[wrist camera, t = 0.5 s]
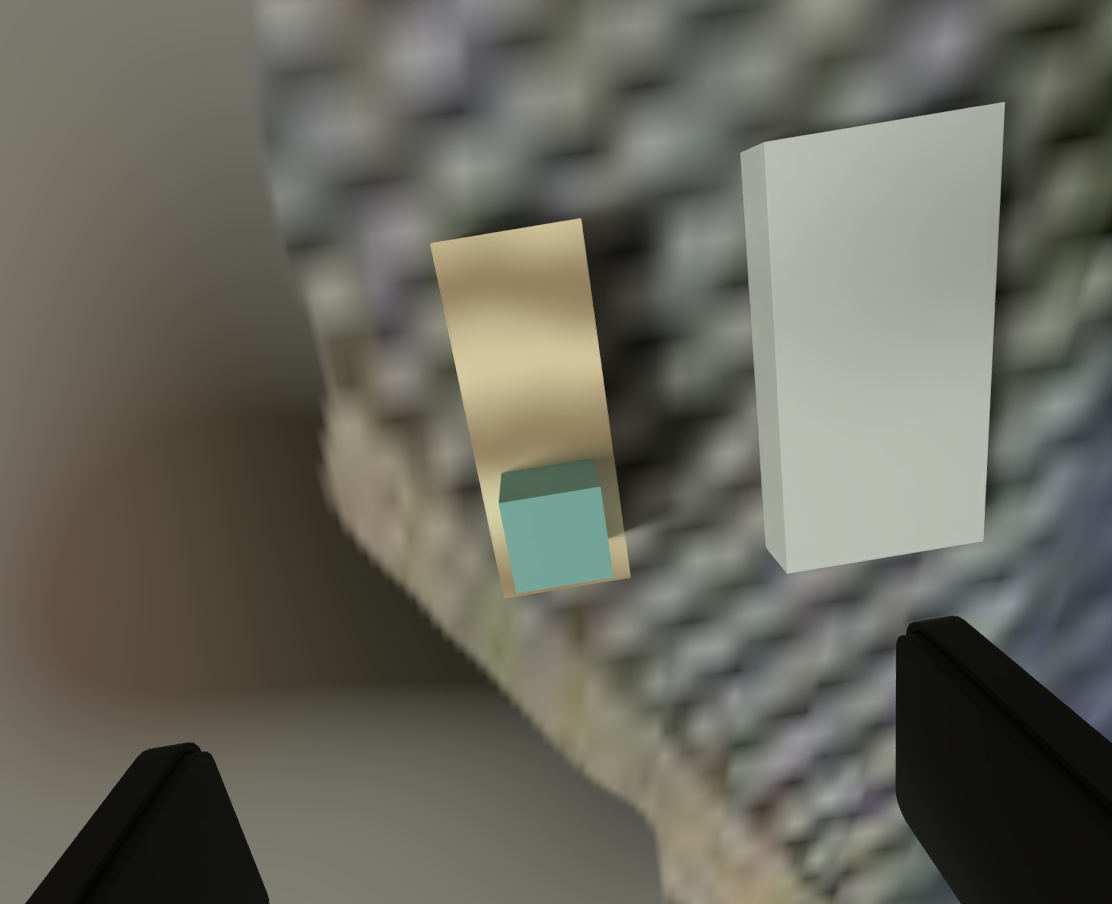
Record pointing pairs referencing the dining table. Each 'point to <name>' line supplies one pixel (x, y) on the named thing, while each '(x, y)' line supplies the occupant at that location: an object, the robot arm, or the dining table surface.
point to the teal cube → (554, 526)
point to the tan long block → (529, 366)
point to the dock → (874, 333)
